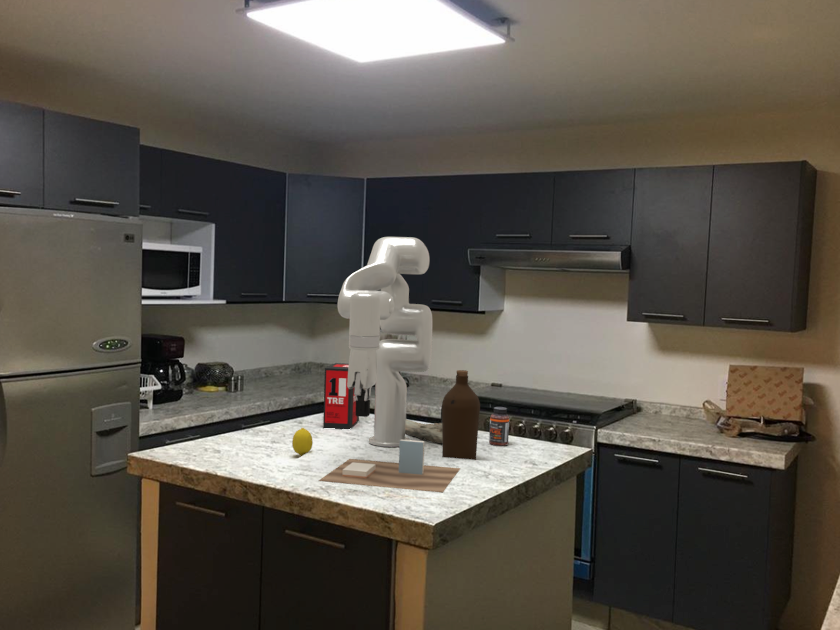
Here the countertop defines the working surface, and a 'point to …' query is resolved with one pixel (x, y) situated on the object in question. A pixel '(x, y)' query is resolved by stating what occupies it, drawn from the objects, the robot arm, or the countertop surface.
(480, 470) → the countertop surface
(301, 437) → the lemon
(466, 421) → the olive oil
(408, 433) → the long grey stone
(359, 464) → the tile
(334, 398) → the cleaning product box
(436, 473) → the board
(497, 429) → the supplement bottle
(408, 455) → the tile
